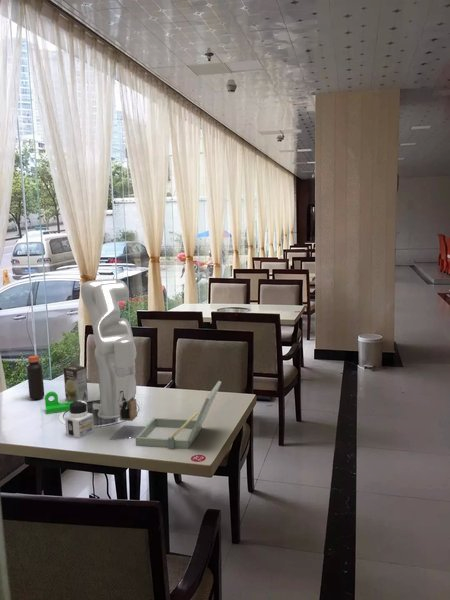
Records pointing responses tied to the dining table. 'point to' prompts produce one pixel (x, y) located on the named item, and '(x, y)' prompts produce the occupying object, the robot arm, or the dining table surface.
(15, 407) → the dining table surface
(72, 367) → the coffee box
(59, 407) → the mechanical part
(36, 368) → the bottle
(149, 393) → the dining table surface
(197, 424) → the case
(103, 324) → the robot arm
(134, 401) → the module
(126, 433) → the mat
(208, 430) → the dining table surface
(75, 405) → the container
